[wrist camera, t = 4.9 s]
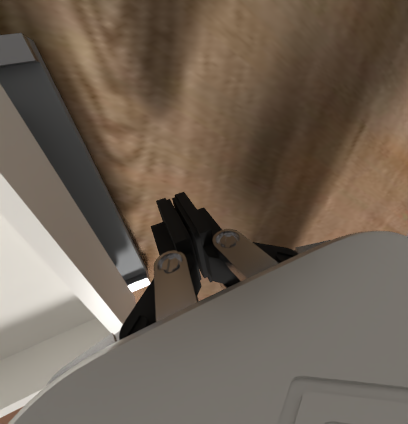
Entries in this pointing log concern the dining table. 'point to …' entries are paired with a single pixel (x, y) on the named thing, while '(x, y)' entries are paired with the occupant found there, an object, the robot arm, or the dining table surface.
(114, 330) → the cart
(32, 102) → the track
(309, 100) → the dining table surface
